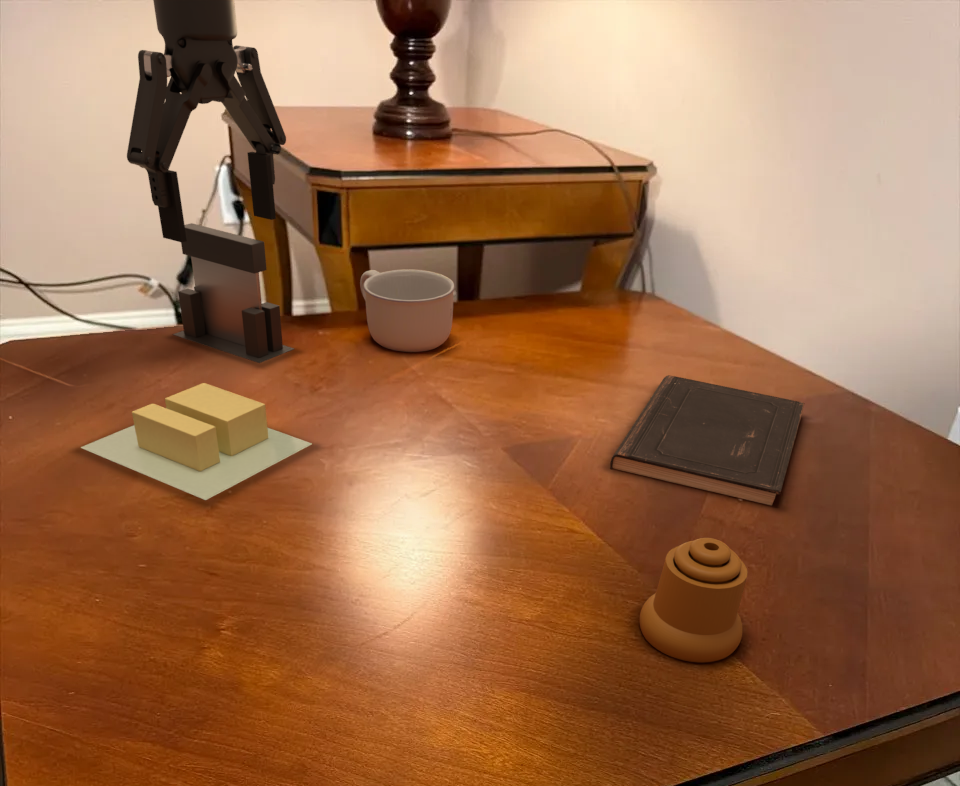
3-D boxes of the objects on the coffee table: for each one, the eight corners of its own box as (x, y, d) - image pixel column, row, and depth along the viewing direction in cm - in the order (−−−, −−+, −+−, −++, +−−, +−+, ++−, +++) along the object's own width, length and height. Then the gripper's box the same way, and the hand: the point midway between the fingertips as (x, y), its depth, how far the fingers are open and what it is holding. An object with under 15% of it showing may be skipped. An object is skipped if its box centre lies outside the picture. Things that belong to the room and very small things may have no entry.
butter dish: (81, 457, 81) (79, 447, 80) (194, 409, 90) (193, 400, 90) (207, 510, 75) (205, 499, 74) (313, 452, 84) (312, 443, 84)
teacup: (468, 355, 107) (472, 288, 102) (392, 369, 102) (392, 300, 97) (410, 321, 116) (411, 258, 111) (337, 332, 111) (335, 267, 106)
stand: (173, 342, 105) (165, 291, 101) (210, 329, 109) (203, 280, 105) (260, 371, 99) (255, 318, 96) (295, 356, 104) (291, 305, 100)
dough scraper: (193, 332, 105) (178, 226, 97) (205, 328, 106) (191, 222, 99) (261, 354, 101) (251, 244, 93) (273, 350, 102) (264, 241, 95)
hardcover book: (798, 421, 98) (804, 402, 96) (774, 513, 81) (780, 491, 79) (660, 392, 102) (663, 373, 100) (608, 473, 85) (612, 452, 83)
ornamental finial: (705, 684, 60) (617, 636, 64) (755, 638, 65) (670, 596, 69) (733, 590, 56) (636, 544, 59) (785, 548, 60) (692, 508, 64)
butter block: (170, 432, 84) (164, 398, 81) (208, 416, 87) (203, 382, 85) (231, 456, 81) (227, 421, 78) (268, 438, 84) (265, 403, 82)
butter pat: (138, 446, 81) (131, 411, 79) (158, 437, 83) (152, 402, 80) (200, 472, 78) (194, 435, 76) (220, 462, 80) (215, 426, 77)
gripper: (113, -11, 73) (158, 257, 86) (309, -9, 90) (321, 214, 103) (54, -17, 75) (106, 243, 89) (254, -14, 93) (273, 204, 106)
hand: (222, 228), depth 96 cm, fingers open, 13 cm apart
